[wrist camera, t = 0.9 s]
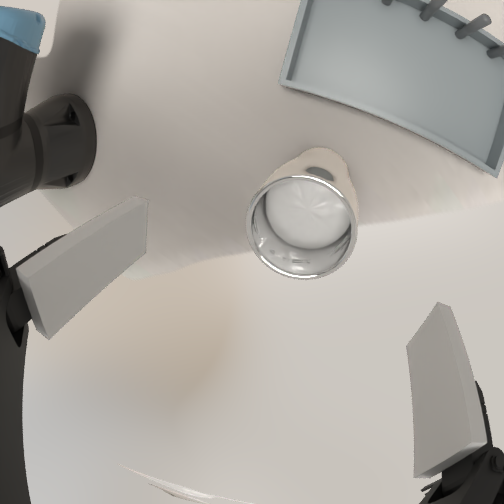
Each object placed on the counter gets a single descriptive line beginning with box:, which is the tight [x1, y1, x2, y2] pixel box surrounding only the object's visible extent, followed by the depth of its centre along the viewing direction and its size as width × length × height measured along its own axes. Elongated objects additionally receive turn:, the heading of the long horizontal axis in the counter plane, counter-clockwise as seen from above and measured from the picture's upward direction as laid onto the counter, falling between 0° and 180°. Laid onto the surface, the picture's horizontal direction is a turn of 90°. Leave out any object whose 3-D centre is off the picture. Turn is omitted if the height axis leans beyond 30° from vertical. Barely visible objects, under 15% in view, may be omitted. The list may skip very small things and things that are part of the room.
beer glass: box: [246, 147, 359, 280], centre depth 23 cm, size 7×7×15 cm
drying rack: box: [278, 0, 504, 178], centre depth 17 cm, size 23×14×8 cm, turn 76°
